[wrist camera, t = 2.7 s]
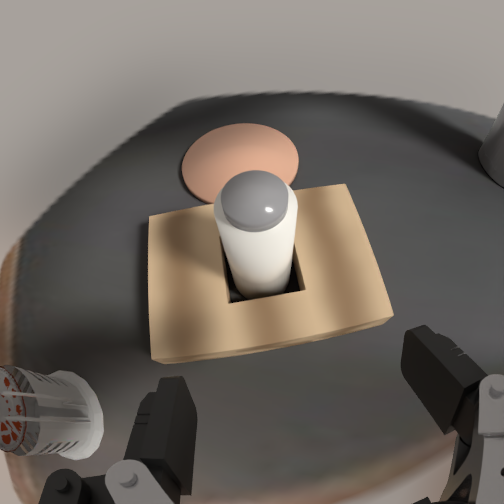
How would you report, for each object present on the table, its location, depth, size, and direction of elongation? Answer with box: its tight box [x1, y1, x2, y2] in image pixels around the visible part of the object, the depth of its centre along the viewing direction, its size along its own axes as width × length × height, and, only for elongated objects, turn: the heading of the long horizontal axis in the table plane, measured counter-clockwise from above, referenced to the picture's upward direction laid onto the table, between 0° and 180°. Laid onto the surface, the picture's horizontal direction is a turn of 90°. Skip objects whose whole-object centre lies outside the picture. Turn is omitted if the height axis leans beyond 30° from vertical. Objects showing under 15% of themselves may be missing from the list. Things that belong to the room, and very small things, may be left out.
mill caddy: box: [148, 184, 394, 364], centre depth 27 cm, size 20×14×3 cm
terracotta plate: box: [182, 123, 299, 204], centre depth 35 cm, size 14×14×1 cm
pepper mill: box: [214, 170, 298, 300], centre depth 23 cm, size 5×5×12 cm
